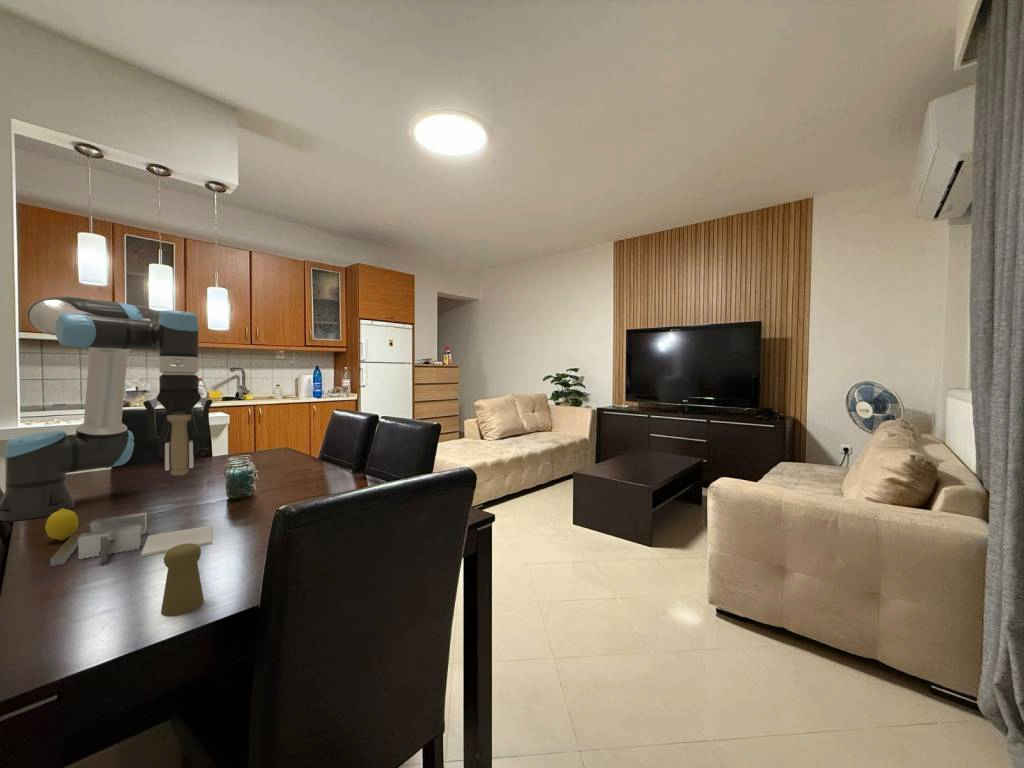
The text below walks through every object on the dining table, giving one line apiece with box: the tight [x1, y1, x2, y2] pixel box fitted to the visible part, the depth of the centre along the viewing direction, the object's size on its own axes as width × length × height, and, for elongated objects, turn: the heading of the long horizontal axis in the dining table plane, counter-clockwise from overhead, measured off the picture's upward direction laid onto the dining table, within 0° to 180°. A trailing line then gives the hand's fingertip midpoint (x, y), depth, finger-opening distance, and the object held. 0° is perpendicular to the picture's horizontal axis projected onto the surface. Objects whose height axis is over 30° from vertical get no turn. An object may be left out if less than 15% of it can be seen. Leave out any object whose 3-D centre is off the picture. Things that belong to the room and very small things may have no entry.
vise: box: [49, 512, 148, 567], centre depth 96 cm, size 21×14×7 cm, turn 36°
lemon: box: [44, 508, 79, 542], centre depth 101 cm, size 6×6×8 cm
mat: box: [140, 524, 213, 557], centre depth 102 cm, size 13×13×1 cm
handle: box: [167, 412, 191, 477], centre depth 102 cm, size 5×6×15 cm
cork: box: [160, 543, 205, 617], centre depth 74 cm, size 6×6×11 cm
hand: (179, 467), depth 102 cm, fingers closed on handle, 4 cm apart
